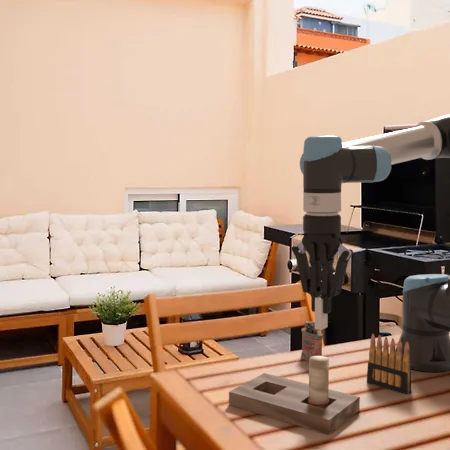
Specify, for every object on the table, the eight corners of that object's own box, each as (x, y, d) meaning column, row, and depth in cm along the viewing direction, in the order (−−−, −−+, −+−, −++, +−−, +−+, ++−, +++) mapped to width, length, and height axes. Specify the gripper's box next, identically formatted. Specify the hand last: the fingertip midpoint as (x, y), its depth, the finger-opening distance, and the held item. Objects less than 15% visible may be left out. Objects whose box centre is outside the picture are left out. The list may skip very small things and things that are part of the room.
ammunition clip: (366, 382, 143) (367, 333, 142) (370, 380, 145) (371, 331, 143) (407, 395, 136) (408, 343, 134) (411, 392, 137) (413, 341, 136)
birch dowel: (314, 409, 128) (314, 354, 127) (332, 413, 126) (332, 358, 125) (304, 415, 125) (305, 359, 124) (322, 420, 123) (323, 363, 121)
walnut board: (264, 385, 142) (264, 373, 142) (359, 410, 128) (359, 396, 127) (229, 404, 131) (228, 391, 130) (328, 434, 116) (329, 420, 116)
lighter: (298, 355, 163) (298, 319, 162) (309, 353, 164) (309, 318, 163) (314, 364, 156) (314, 327, 155) (325, 363, 157) (325, 325, 156)
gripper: (284, 213, 122) (284, 327, 125) (343, 216, 114) (342, 337, 117) (302, 210, 128) (302, 319, 131) (360, 213, 120) (358, 328, 123)
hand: (321, 327), depth 124 cm, fingers closed
